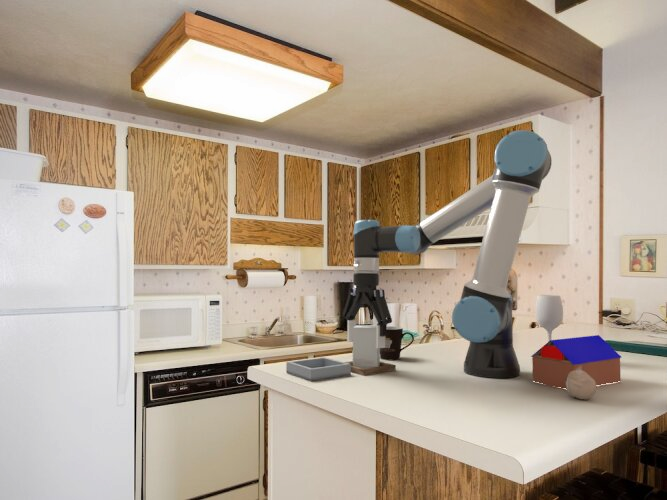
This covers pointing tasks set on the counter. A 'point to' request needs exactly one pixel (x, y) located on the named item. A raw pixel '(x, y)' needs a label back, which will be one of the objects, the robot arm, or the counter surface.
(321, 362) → the grey tray
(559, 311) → the wineglass
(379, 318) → the robot arm
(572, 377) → the garlic bulb
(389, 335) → the coffee mug
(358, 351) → the supplement box
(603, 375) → the house
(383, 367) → the walnut collar
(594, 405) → the counter surface
